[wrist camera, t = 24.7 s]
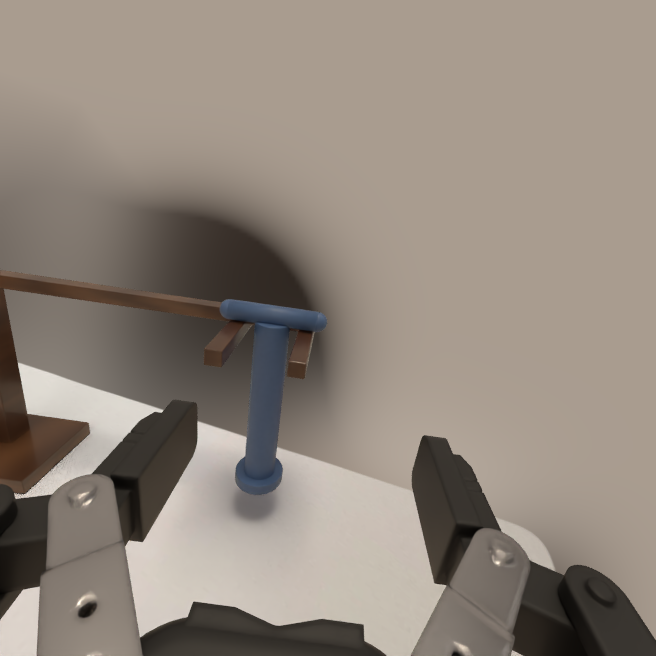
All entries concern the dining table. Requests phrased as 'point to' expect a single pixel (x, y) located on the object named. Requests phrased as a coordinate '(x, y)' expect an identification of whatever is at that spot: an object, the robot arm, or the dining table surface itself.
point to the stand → (63, 435)
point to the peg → (266, 386)
